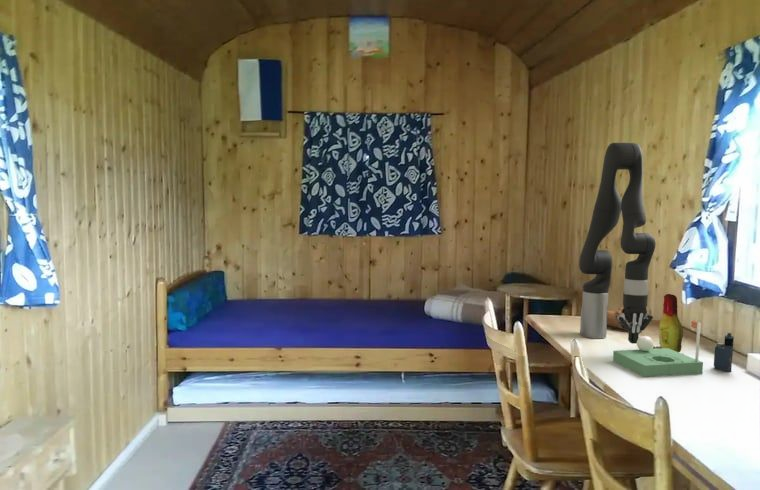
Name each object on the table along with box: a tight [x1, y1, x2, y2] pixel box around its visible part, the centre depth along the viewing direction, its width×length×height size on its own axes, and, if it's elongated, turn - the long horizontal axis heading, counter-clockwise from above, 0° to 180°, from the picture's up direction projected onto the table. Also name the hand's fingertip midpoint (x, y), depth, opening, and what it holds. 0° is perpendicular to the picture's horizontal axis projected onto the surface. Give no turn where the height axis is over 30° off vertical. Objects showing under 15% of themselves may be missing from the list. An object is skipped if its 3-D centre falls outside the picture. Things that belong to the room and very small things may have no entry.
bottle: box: [658, 293, 684, 353], centre depth 200 cm, size 12×6×20 cm, turn 172°
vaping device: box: [713, 332, 735, 373], centre depth 179 cm, size 3×5×12 cm, turn 28°
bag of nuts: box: [607, 307, 627, 330], centre depth 233 cm, size 19×11×15 cm
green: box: [612, 320, 704, 378], centre depth 181 cm, size 16×20×16 cm
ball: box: [636, 335, 654, 351], centre depth 187 cm, size 5×5×5 cm
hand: (632, 342), depth 193 cm, fingers closed
